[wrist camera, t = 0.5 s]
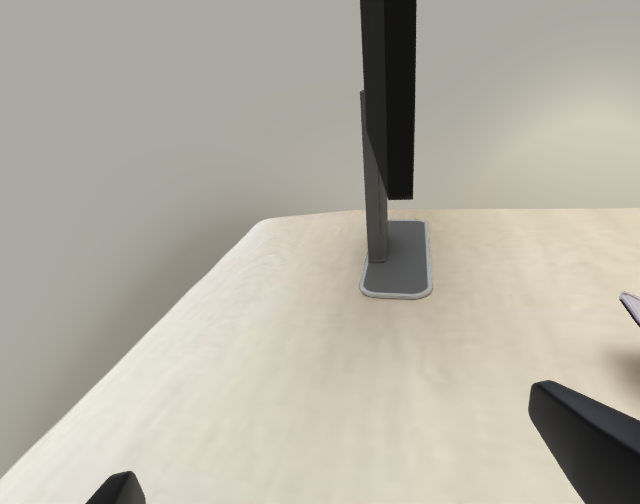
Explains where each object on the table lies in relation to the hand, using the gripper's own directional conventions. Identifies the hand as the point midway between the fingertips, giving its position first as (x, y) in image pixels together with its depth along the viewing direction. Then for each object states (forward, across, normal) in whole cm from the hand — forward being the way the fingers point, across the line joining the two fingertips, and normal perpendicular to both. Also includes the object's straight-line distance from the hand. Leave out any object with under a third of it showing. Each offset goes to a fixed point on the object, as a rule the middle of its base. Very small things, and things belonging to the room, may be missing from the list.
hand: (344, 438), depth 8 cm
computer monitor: (+39, -15, +13) cm, 44 cm away
